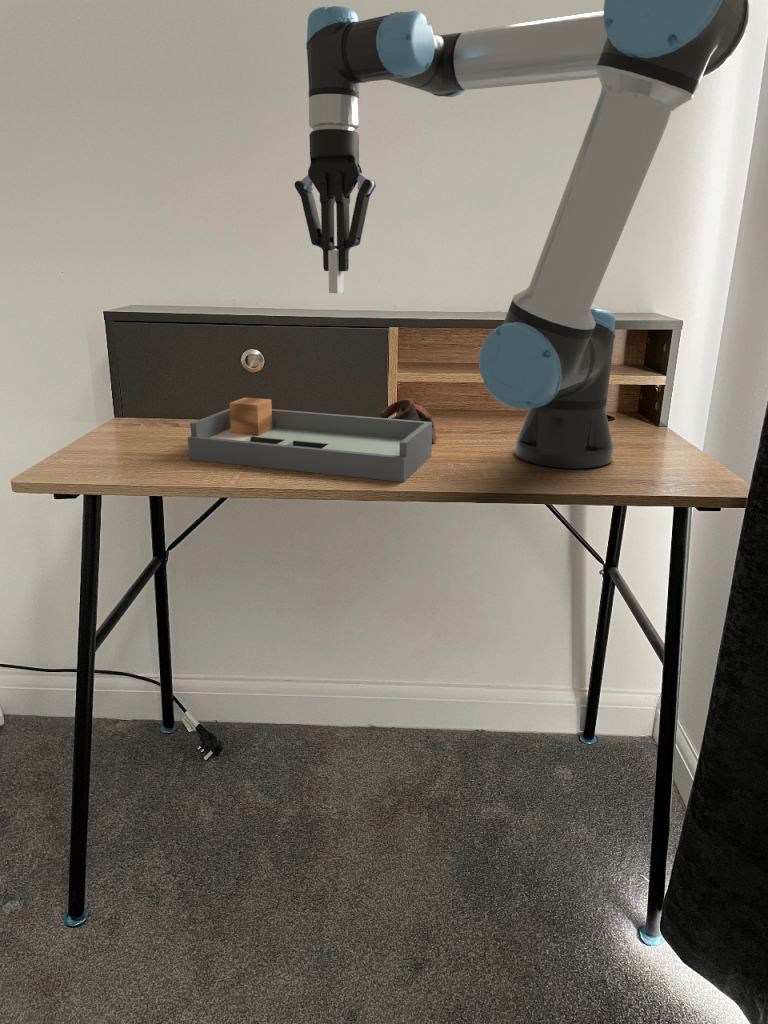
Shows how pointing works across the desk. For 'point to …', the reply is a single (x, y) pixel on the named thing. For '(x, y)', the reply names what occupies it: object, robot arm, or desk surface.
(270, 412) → the block
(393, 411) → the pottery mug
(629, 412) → the desk surface
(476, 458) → the desk surface
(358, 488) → the desk surface
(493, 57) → the robot arm
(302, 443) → the box
